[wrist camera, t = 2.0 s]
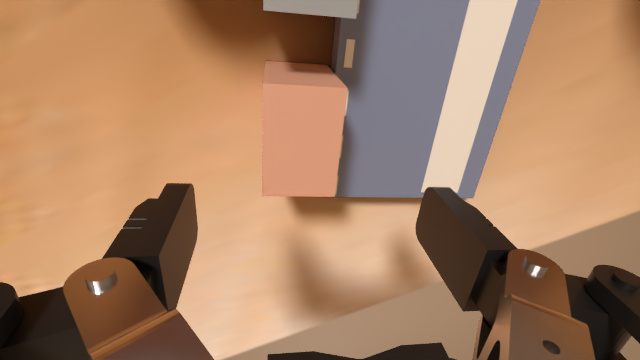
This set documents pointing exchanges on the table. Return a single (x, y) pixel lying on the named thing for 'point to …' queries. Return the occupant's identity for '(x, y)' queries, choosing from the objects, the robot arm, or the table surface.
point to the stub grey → (314, 7)
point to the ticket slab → (424, 91)
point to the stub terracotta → (301, 129)
